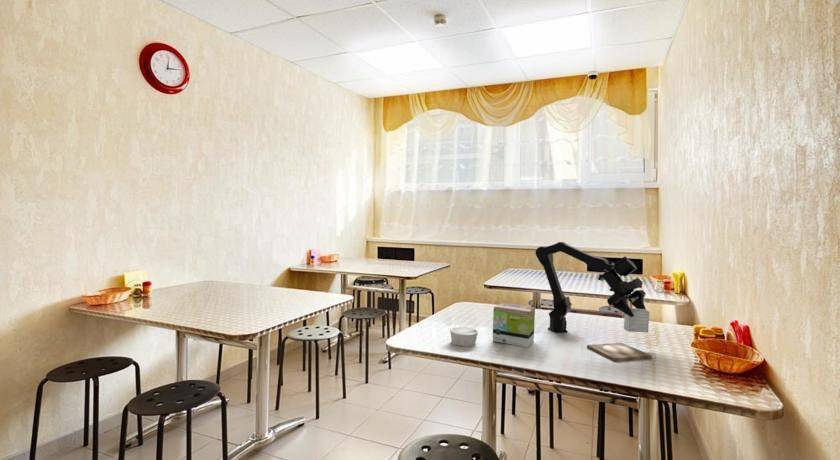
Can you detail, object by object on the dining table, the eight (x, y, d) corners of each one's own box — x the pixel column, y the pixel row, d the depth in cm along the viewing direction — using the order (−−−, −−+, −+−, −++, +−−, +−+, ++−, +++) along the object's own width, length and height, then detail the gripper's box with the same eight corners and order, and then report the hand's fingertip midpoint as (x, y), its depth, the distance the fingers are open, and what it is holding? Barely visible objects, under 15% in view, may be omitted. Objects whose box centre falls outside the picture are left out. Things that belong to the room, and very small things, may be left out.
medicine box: (643, 329, 173) (644, 308, 172) (648, 333, 168) (649, 311, 168) (623, 328, 173) (624, 307, 173) (628, 332, 169) (629, 310, 168)
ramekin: (476, 348, 165) (476, 335, 165) (448, 346, 167) (448, 333, 167) (478, 340, 176) (478, 328, 176) (451, 338, 178) (451, 326, 178)
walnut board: (614, 361, 153) (614, 357, 153) (586, 347, 169) (587, 344, 168) (651, 358, 157) (651, 355, 157) (621, 345, 172) (621, 342, 172)
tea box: (491, 342, 174) (492, 306, 173) (499, 336, 183) (500, 302, 182) (528, 348, 167) (529, 310, 166) (534, 341, 176) (535, 306, 175)
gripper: (615, 273, 168) (640, 306, 159) (642, 270, 178) (667, 302, 169) (596, 289, 175) (620, 322, 166) (623, 286, 185) (647, 316, 176)
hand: (639, 315), depth 169 cm, fingers closed on medicine box, 9 cm apart
